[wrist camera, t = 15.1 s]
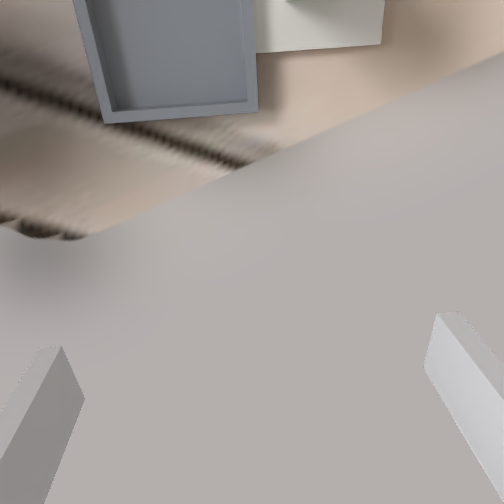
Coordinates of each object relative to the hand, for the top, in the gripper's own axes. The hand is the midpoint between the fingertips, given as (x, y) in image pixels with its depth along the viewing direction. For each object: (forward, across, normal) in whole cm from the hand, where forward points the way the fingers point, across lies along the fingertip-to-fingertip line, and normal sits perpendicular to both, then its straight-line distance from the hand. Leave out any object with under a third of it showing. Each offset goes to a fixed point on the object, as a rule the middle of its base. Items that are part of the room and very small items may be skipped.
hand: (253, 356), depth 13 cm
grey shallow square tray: (+31, -5, +11) cm, 33 cm away
